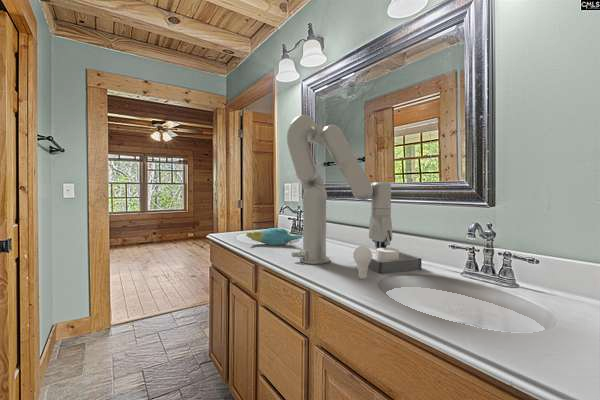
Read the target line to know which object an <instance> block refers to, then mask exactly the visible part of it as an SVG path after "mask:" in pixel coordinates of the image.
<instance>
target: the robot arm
mask: <svg viewBox="0 0 600 400" xmlns="http://www.w3.org/2000/svg"><path fill="white" fill-rule="evenodd" d="M286 143H287V146H288V147H287V148H288V150H289V154H290V157H291V161H292V164H293V167H294V171H295V175H296V178H297V179H298V180H299V181H300V184H301V187H302V190H303V193H302V194H303V195H302V213H303V214H302V217H303V218H302V223H303V225H302V226H303V230H302V231H303V233H302V238H303V239H302V240H303V241H302V244H303V247H302V248H301V249H300V251H293V252H292V253H291V256H292V258H297V259H298V258H299V262H301V263H303V264H309V265H323V264H327V263H329V262H330V257H329V256H327V198H328V194H327V190H326V188H325V187H326V186H325V185H324V181H323V179H322V175H321V173H320V169H319V167H318V166H317V164H316V162H315V160H314V157H313V154H312V151H311V148H310V145H309V143H311V144H315V145H318V146H321V147H324V148H326V149H327V151H328V153H329V155H330V156H331V158H332V160H333V162H334V164H335V166H336V167H337V169H338V170H339V171H340V173H342V175H343V176H344V178H345V180H346V181H347V184H348V185H349V188H350V189H351V191H352V195H353V197H354V198H355V199H357V200H359V201H367V200H371V215H370V219H369V226H368V238H369V239H370V240H372V242H373V243H374V245H375V248H376V249H377V248H387V246H391V242H392V240H393V224H392V222H393V221H392V185H391V182H388V181H376V182H371V181H370V179H369V177H368V176H367V174H366V172H365V170H364V169H363V167H362V165H361V164H360V162H359V159H358V158H357V156H356V154H355V153H354V152H353V150H352V148H351V145H350V144H349V142H348V140H347V139H346V137H345V135H344V133H343V131H342V130H341V128H340V127H339V126H338V125H336V124H328V125H327V126H323V125H320V124H317V123H315V121H314V119H313V118H312V117H311V116H310V115H308V114H307V115H306V114H301V115H298V116H296V117H295V118H294V119H293V120H292V121H291V123H290V124H289V127H288V128H287V134H286ZM376 249H375V250H376Z"/></svg>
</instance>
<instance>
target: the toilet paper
mask: <svg viewBox="0 0 600 400" xmlns="http://www.w3.org/2000/svg"><path fill="white" fill-rule="evenodd" d="M375 252H376V255H375V260H378V261H380V262H381V261H392V260H399V252H400V251H399V249H398V248H394V247H393V248H392V247H386V248H377V249H375Z"/></svg>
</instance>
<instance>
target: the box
mask: <svg viewBox="0 0 600 400" xmlns="http://www.w3.org/2000/svg"><path fill="white" fill-rule="evenodd" d="M368 269H369V270H370V271H372V272H375V273H377V274H379V275H380V274H381V275H382V274H390V273H399V272H409V271H410V272H411V271H417V270H422V258H421V257H417V256H414V255H410V254H408V253H404V252H401V251H399V260H392V261H381V262H380V261H378V260H376V258H373V257H372V259H371V261H370V263H369V265H368Z"/></svg>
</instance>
